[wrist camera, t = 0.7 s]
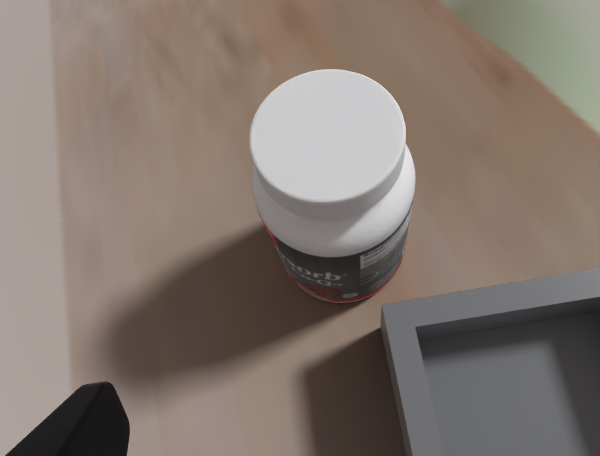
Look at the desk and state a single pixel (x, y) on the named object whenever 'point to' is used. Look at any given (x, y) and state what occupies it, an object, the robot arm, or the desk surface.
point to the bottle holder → (499, 368)
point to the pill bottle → (333, 182)
